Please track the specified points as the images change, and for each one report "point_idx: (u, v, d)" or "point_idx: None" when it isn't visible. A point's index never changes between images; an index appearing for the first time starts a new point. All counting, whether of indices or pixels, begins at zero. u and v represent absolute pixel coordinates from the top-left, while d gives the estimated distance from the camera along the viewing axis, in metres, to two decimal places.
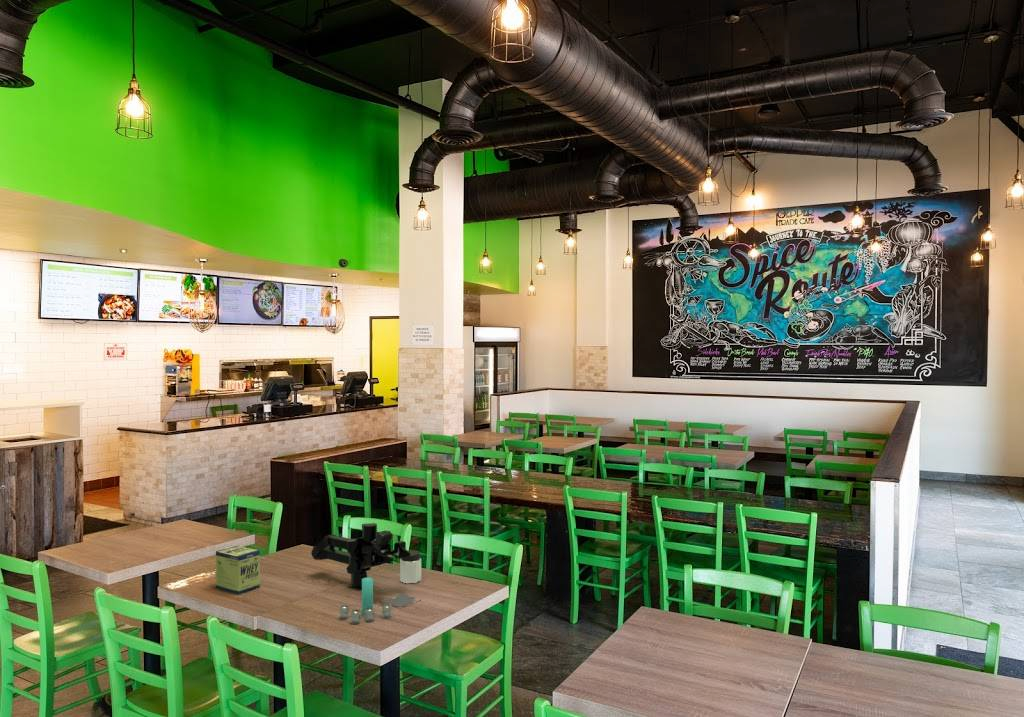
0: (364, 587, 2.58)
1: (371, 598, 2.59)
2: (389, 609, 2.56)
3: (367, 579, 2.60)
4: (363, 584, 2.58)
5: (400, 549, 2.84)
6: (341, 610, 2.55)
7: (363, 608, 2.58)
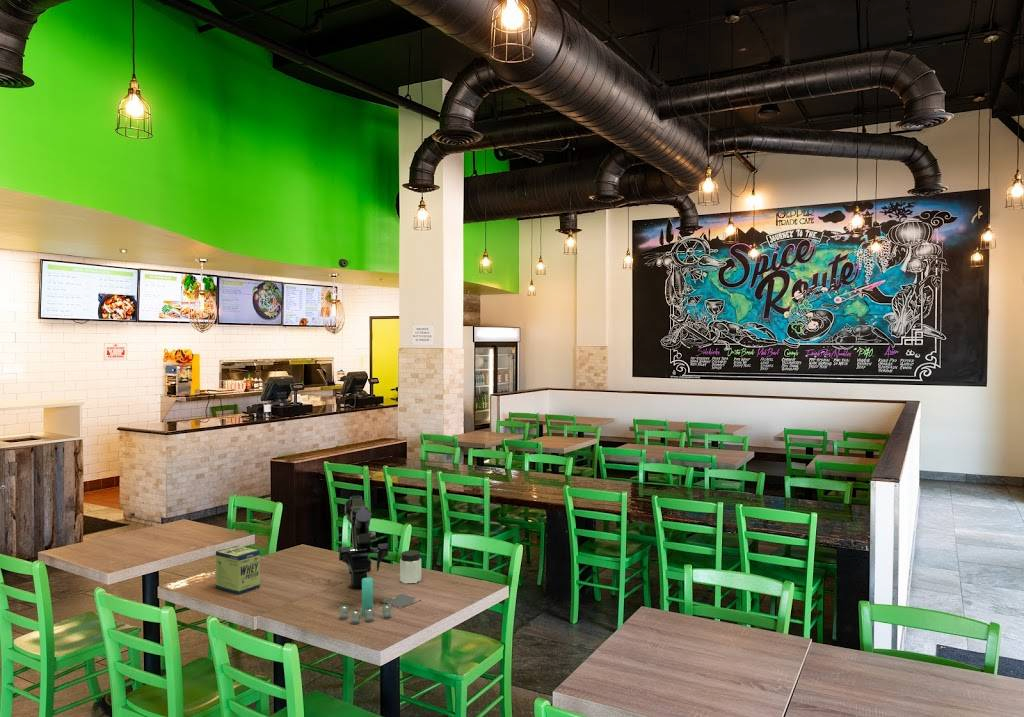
0: (364, 587, 2.58)
1: (371, 598, 2.59)
2: (389, 609, 2.56)
3: (367, 579, 2.60)
4: (363, 584, 2.58)
5: (377, 555, 2.72)
6: (341, 610, 2.55)
7: (363, 608, 2.58)
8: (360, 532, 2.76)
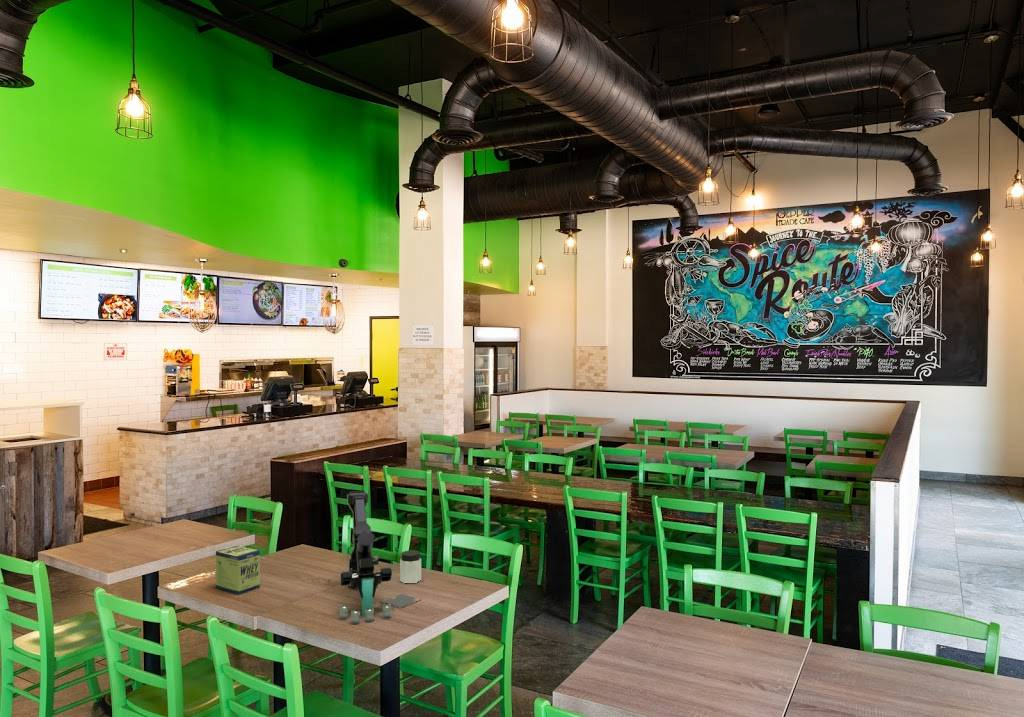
0: (364, 587, 2.58)
1: (371, 598, 2.59)
2: (389, 609, 2.56)
3: (367, 579, 2.60)
4: (363, 584, 2.58)
5: None
6: (341, 610, 2.55)
7: (363, 608, 2.58)
8: (362, 556, 2.67)
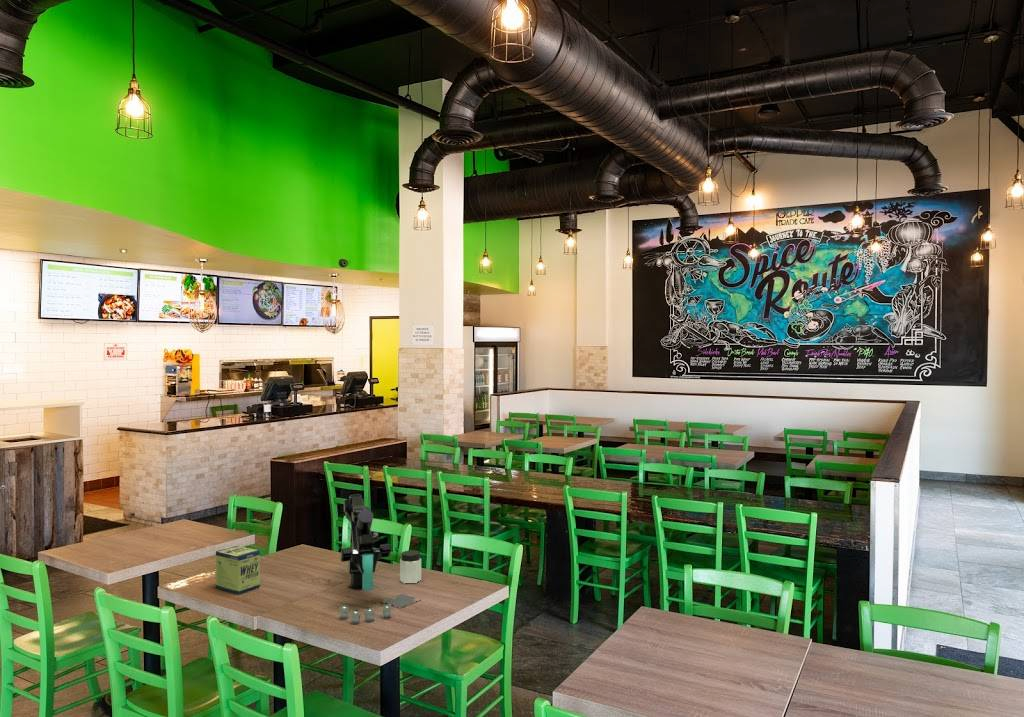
0: (365, 563, 2.66)
1: (371, 573, 2.67)
2: (389, 609, 2.56)
3: (367, 555, 2.67)
4: (364, 559, 2.66)
5: (373, 556, 2.71)
6: (341, 610, 2.55)
7: (364, 583, 2.66)
8: (362, 533, 2.75)
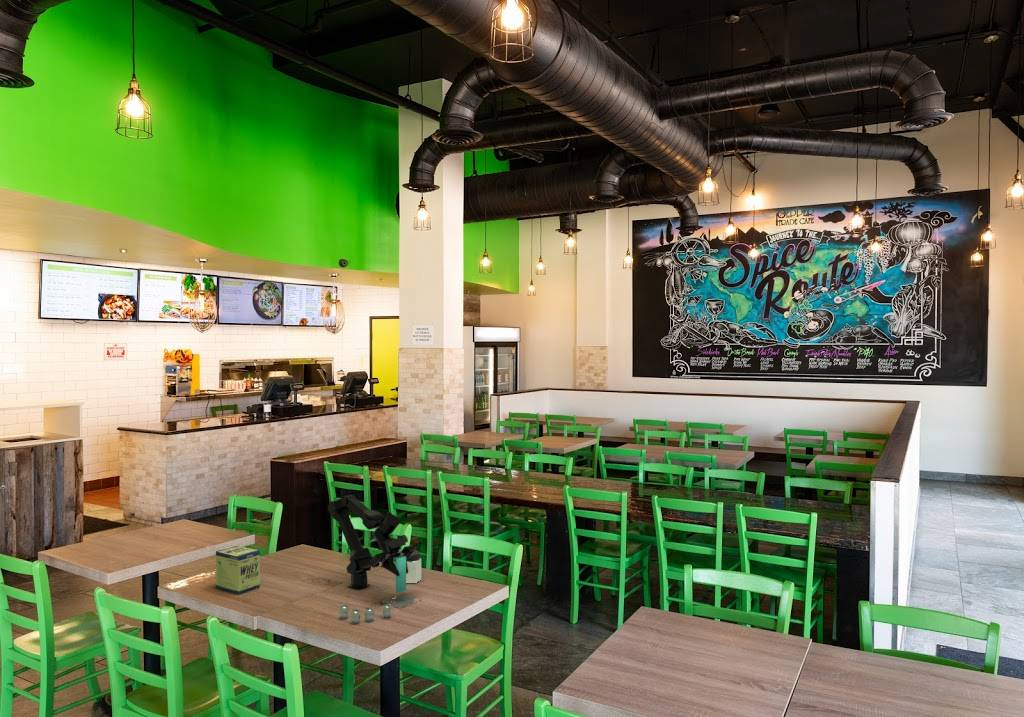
0: (400, 565, 2.72)
1: (405, 574, 2.74)
2: (389, 609, 2.56)
3: (401, 557, 2.73)
4: (399, 562, 2.72)
5: None
6: (341, 610, 2.55)
7: (399, 585, 2.72)
8: (386, 537, 2.78)
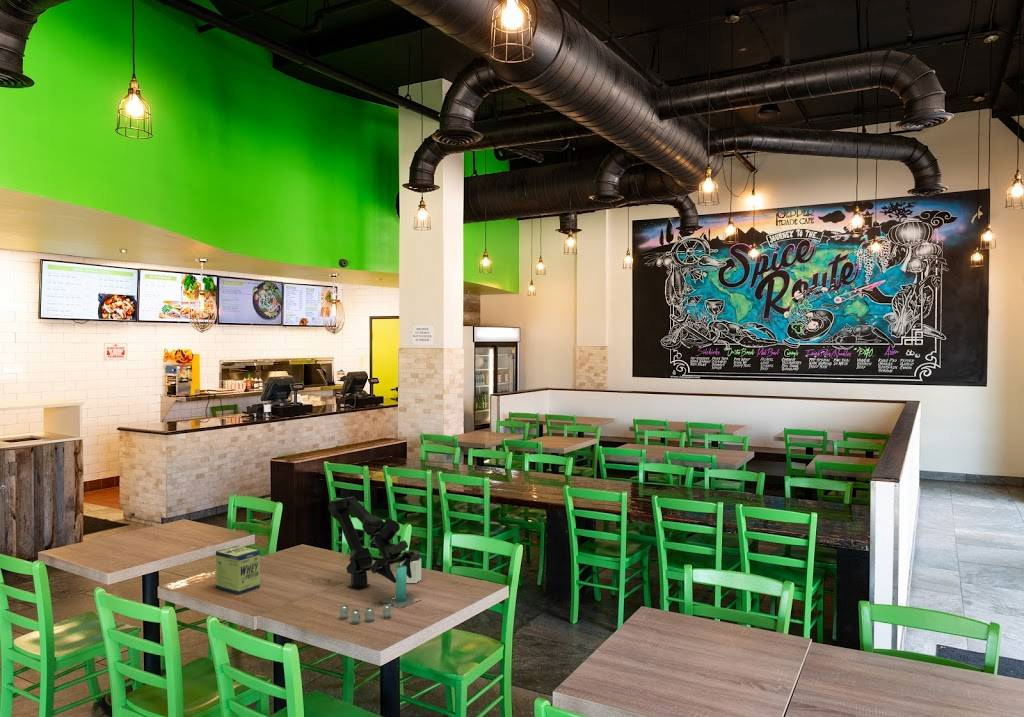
0: (401, 575, 2.71)
1: None
2: (389, 609, 2.56)
3: (401, 567, 2.73)
4: (400, 572, 2.71)
5: (405, 563, 2.78)
6: (341, 610, 2.55)
7: (399, 595, 2.71)
8: (386, 543, 2.78)
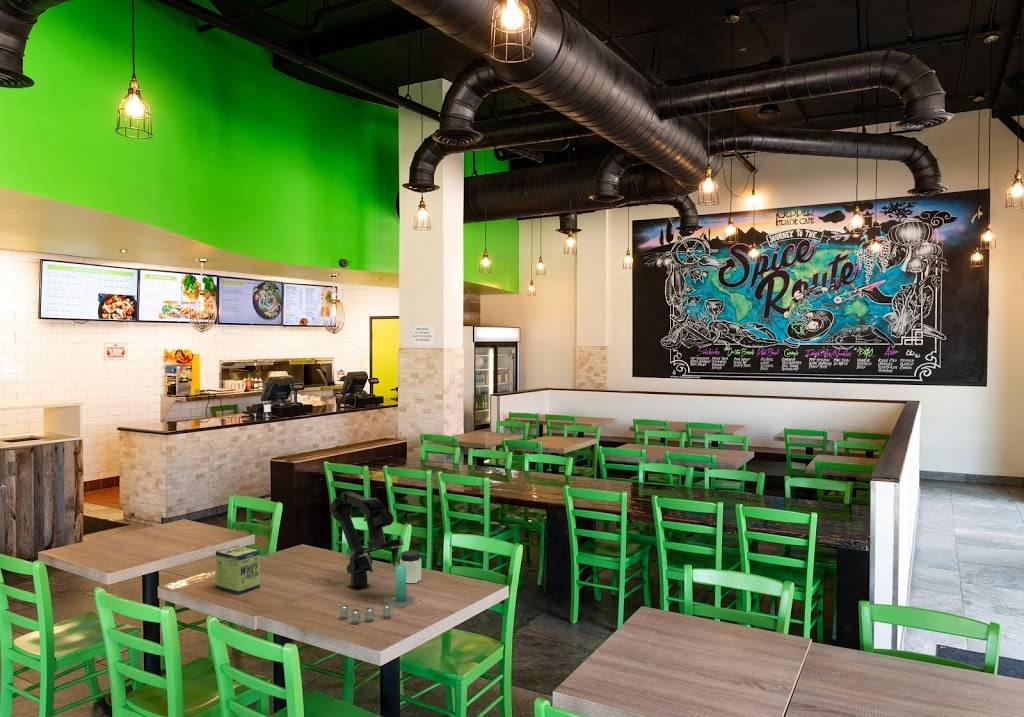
0: (401, 575, 2.72)
1: None
2: (389, 609, 2.56)
3: (401, 567, 2.73)
4: (400, 572, 2.72)
5: None
6: (341, 610, 2.55)
7: (399, 595, 2.72)
8: (371, 530, 2.79)
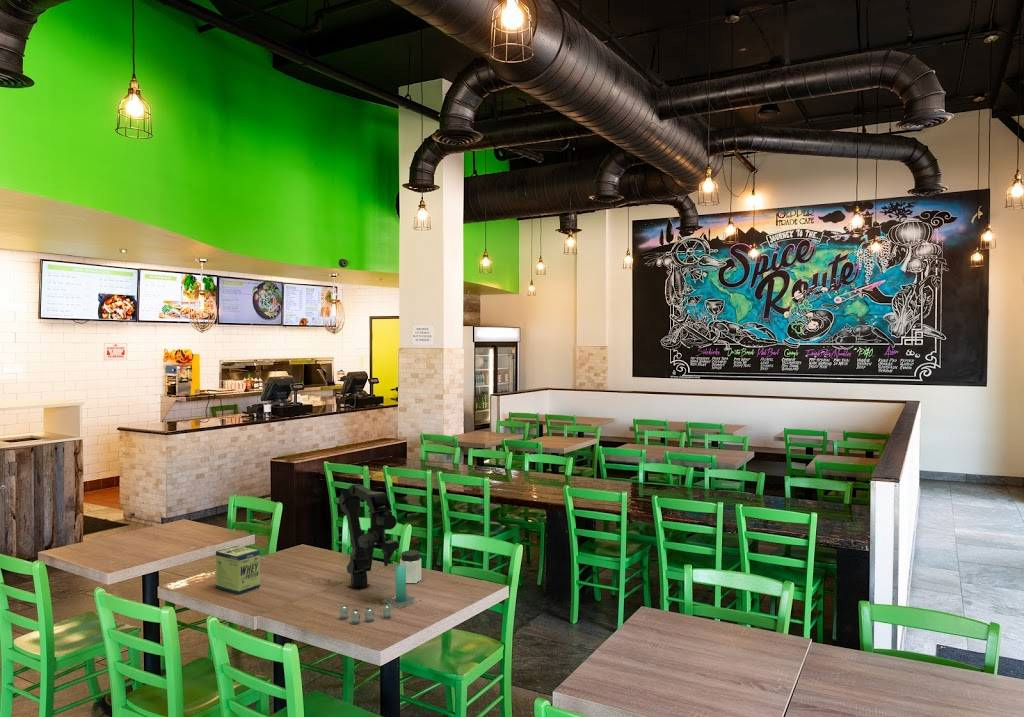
0: (400, 575, 2.71)
1: (405, 584, 2.74)
2: (389, 609, 2.56)
3: (401, 567, 2.73)
4: (399, 572, 2.71)
5: None
6: (341, 610, 2.55)
7: (399, 595, 2.72)
8: (371, 526, 2.77)
